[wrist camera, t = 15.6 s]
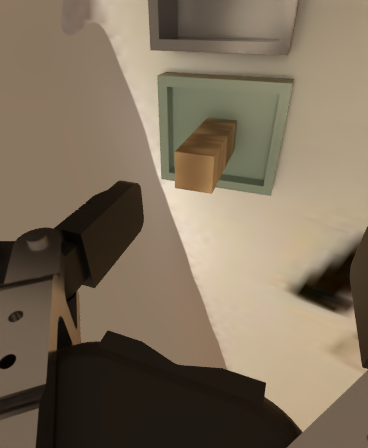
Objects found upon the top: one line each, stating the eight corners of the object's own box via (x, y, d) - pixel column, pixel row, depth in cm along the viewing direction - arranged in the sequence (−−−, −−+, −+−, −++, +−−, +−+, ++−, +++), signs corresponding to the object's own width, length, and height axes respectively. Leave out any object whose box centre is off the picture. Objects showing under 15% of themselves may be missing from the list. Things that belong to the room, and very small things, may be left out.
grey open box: (307, -46, 29) (308, -62, 23) (290, 49, 33) (288, 55, 28) (172, -40, 32) (145, -52, 27) (173, 45, 37) (150, 50, 31)
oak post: (237, 120, 38) (214, 156, 28) (234, 150, 41) (211, 193, 30) (207, 117, 39) (174, 151, 29) (206, 147, 42) (175, 187, 31)
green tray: (293, 79, 35) (293, 83, 32) (272, 186, 43) (270, 195, 40) (166, 72, 39) (157, 75, 36) (168, 170, 47) (161, 178, 44)
